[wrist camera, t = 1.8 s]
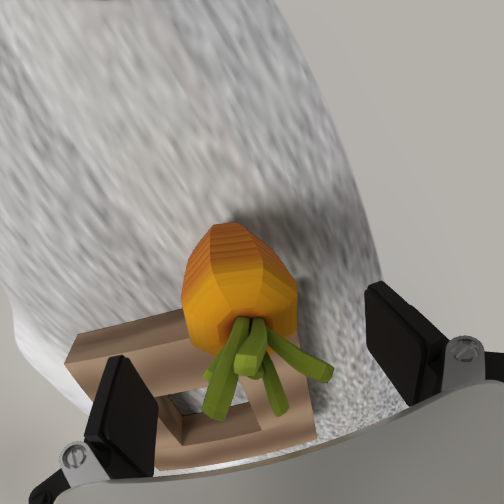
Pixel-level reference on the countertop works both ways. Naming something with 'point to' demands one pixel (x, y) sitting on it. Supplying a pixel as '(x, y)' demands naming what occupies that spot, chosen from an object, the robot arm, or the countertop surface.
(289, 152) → the countertop surface
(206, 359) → the socket block
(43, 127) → the countertop surface
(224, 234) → the carrot
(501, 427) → the robot arm
